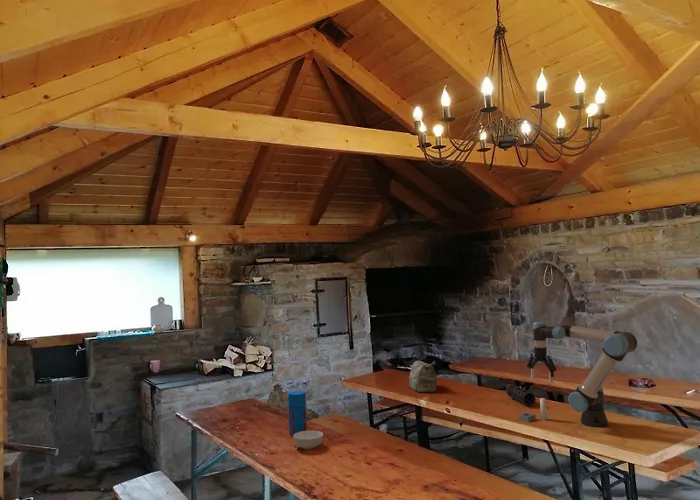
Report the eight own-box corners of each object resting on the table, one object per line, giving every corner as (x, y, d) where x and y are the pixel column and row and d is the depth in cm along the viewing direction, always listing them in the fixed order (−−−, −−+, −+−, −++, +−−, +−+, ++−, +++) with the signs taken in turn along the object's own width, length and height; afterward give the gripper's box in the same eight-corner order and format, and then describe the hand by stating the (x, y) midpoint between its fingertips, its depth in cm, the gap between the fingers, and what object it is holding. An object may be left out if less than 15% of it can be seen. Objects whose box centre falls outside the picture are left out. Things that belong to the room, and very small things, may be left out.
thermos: (304, 430, 322) (302, 389, 323) (309, 434, 312) (307, 393, 313) (287, 432, 318) (286, 392, 319) (291, 437, 308) (290, 395, 309)
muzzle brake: (523, 408, 351) (522, 392, 352) (505, 398, 379) (504, 384, 379) (536, 407, 353) (535, 391, 353) (517, 397, 380) (516, 383, 381)
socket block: (535, 419, 325) (535, 414, 325) (528, 421, 321) (527, 416, 321) (526, 416, 331) (525, 412, 331) (518, 419, 327) (518, 414, 327)
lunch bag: (439, 392, 405) (438, 364, 406) (417, 393, 402) (416, 365, 403) (428, 384, 431) (427, 358, 432) (408, 386, 427) (406, 360, 428)
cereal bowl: (329, 446, 290) (329, 433, 290) (306, 454, 278) (306, 441, 279) (310, 440, 302) (310, 427, 302) (287, 447, 291) (287, 435, 291)
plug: (548, 419, 323) (547, 398, 324) (544, 420, 321) (543, 399, 322) (543, 418, 326) (542, 397, 327) (539, 419, 324) (538, 398, 325)
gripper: (520, 345, 334) (522, 378, 333) (553, 349, 313) (555, 384, 312) (527, 344, 338) (529, 376, 337) (561, 348, 317) (563, 382, 316)
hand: (542, 380), depth 325 cm, fingers open, 13 cm apart
